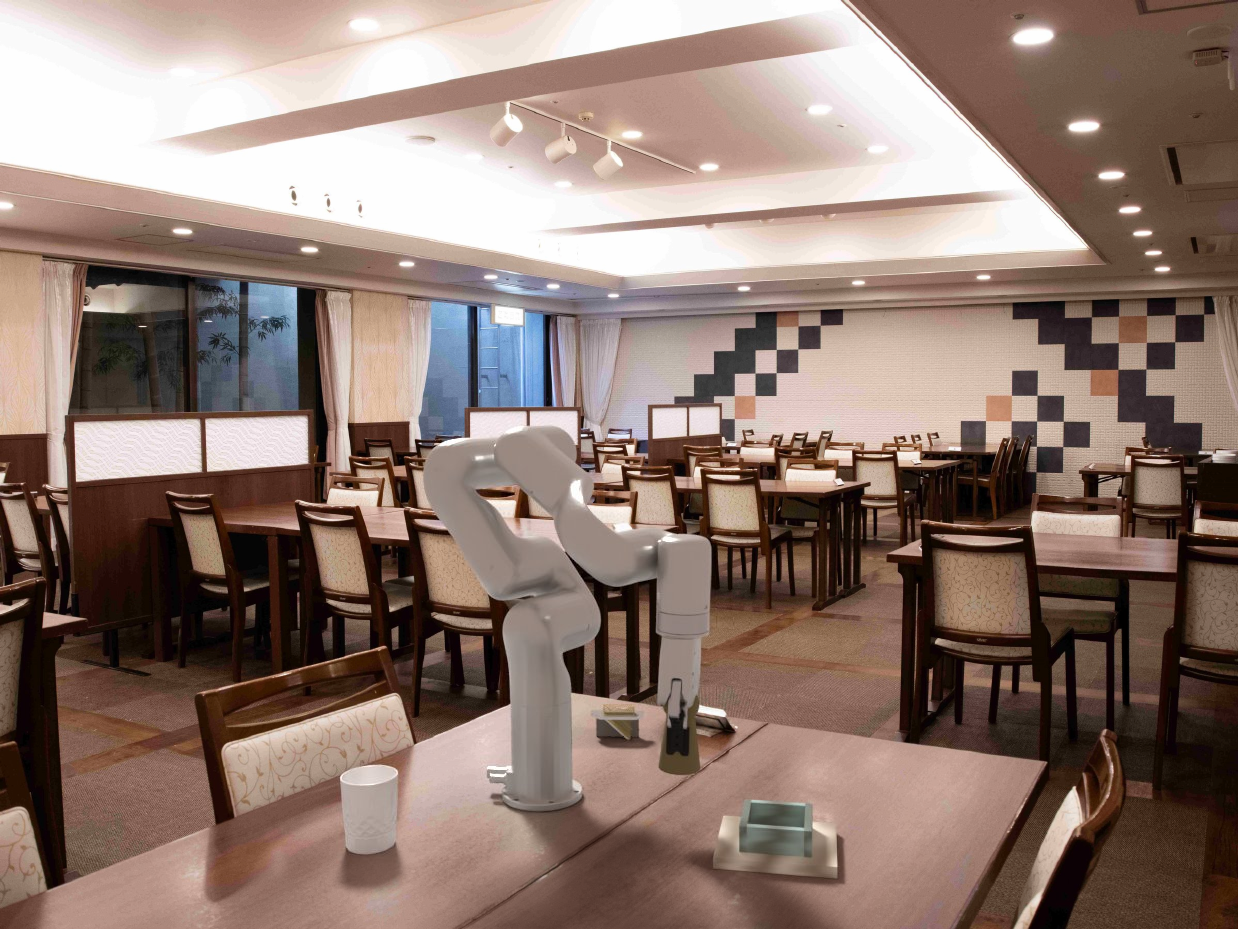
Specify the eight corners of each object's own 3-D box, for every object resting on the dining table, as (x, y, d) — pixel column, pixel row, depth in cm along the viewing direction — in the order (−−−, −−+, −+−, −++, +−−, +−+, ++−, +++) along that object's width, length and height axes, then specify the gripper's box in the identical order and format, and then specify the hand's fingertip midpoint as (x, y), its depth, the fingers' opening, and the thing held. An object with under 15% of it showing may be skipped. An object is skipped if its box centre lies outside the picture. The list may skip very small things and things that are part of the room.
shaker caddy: (713, 868, 132) (712, 831, 132) (723, 825, 146) (723, 791, 146) (837, 878, 129) (837, 840, 129) (836, 833, 143) (836, 799, 143)
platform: (665, 752, 179) (665, 715, 179) (565, 750, 180) (564, 714, 180) (666, 730, 191) (666, 696, 191) (572, 729, 192) (572, 696, 192)
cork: (697, 777, 140) (700, 699, 139) (655, 773, 141) (656, 696, 140) (703, 761, 146) (705, 687, 145) (661, 757, 147) (663, 684, 146)
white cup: (341, 860, 136) (340, 787, 136) (341, 836, 144) (340, 768, 143) (401, 853, 138) (399, 781, 138) (398, 830, 146) (396, 762, 145)
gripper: (665, 608, 151) (662, 728, 152) (646, 634, 134) (643, 768, 136) (715, 611, 149) (712, 732, 150) (702, 638, 133) (698, 773, 134)
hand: (679, 748), depth 143 cm, fingers closed on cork, 3 cm apart
